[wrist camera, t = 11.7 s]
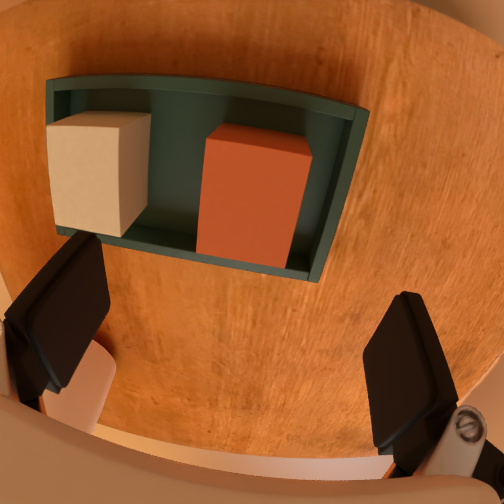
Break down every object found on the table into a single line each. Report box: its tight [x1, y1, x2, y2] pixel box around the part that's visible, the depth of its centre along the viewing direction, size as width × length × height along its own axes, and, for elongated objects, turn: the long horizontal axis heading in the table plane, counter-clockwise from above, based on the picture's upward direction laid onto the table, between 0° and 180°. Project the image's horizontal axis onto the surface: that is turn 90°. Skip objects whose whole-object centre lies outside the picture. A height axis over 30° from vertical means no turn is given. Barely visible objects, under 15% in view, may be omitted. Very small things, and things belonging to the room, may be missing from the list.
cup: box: [42, 339, 116, 435], centre depth 26 cm, size 8×8×14 cm
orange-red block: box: [196, 122, 312, 268], centre depth 18 cm, size 5×6×4 cm
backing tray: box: [46, 73, 370, 283], centre depth 19 cm, size 20×12×3 cm, turn 81°
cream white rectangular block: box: [46, 111, 151, 237], centre depth 17 cm, size 5×6×4 cm
